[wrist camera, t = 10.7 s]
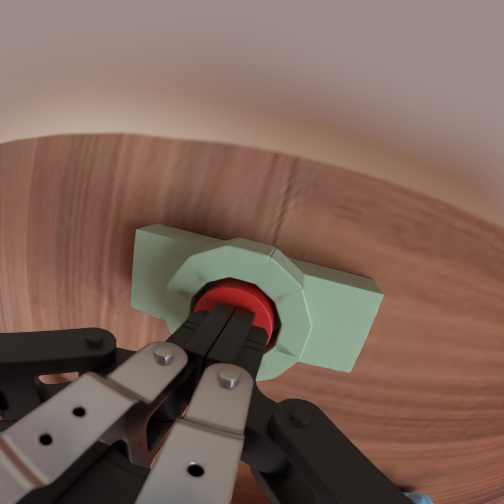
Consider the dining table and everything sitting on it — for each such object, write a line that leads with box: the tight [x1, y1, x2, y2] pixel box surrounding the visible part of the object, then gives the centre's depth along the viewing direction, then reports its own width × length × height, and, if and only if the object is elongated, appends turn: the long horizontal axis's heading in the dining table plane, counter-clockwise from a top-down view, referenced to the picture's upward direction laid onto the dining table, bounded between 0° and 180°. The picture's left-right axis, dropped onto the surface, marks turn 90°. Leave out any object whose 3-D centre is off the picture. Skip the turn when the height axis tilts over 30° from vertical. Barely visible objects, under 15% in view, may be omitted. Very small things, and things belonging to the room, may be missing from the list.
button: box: [194, 277, 277, 345], centre depth 11 cm, size 3×3×2 cm
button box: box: [131, 224, 383, 381], centre depth 13 cm, size 12×6×4 cm, turn 78°
